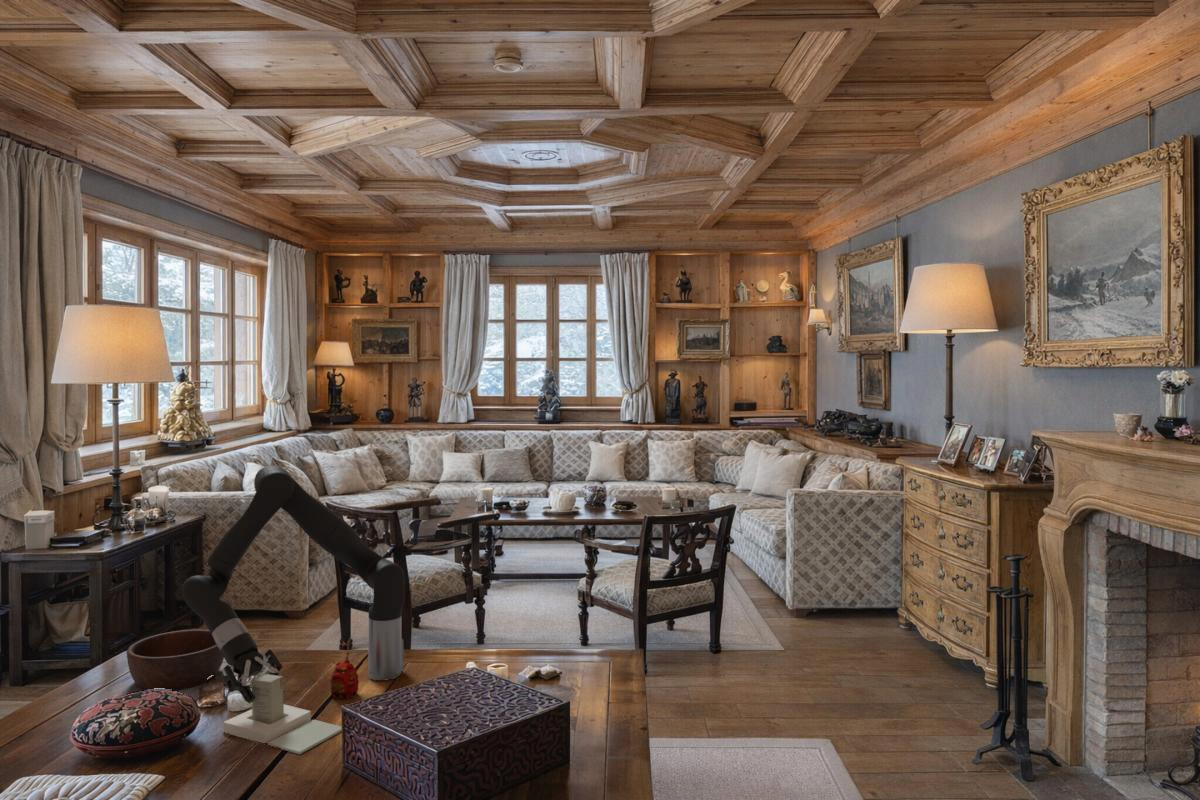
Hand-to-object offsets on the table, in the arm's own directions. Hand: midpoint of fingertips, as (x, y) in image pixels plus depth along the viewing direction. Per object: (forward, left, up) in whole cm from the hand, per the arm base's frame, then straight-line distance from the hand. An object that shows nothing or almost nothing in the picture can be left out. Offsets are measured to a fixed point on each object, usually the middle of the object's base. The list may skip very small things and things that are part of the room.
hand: (266, 694), depth 189 cm
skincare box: (0, 0, -8) cm, 8 cm away
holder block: (0, 0, -8) cm, 8 cm away
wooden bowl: (-11, -48, -8) cm, 50 cm away
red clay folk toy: (-23, +3, -8) cm, 25 cm away
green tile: (0, +13, -8) cm, 15 cm away
